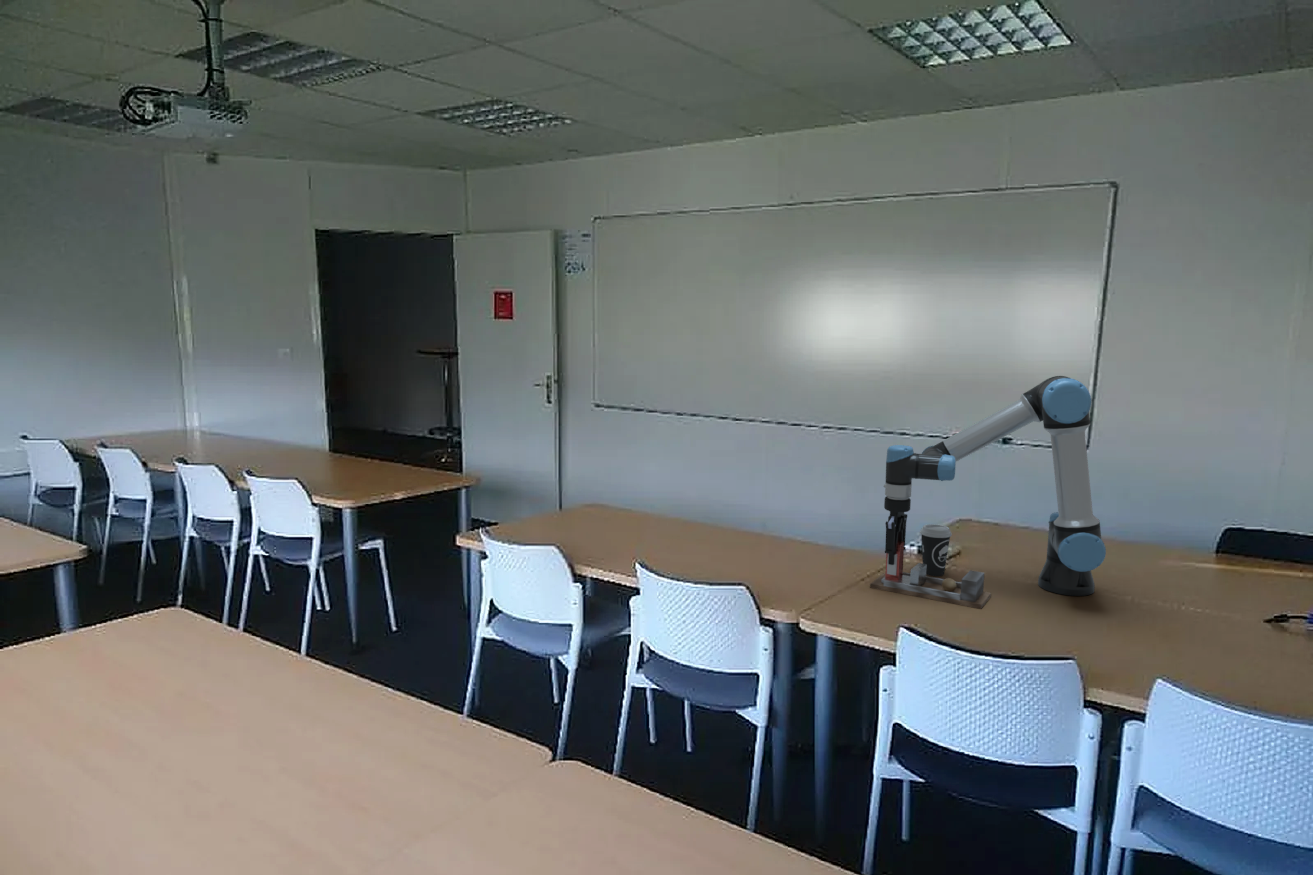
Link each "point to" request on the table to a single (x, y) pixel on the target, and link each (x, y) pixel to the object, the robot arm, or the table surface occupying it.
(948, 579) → the nut
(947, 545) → the coffee cup
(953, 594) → the bench
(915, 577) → the ram
